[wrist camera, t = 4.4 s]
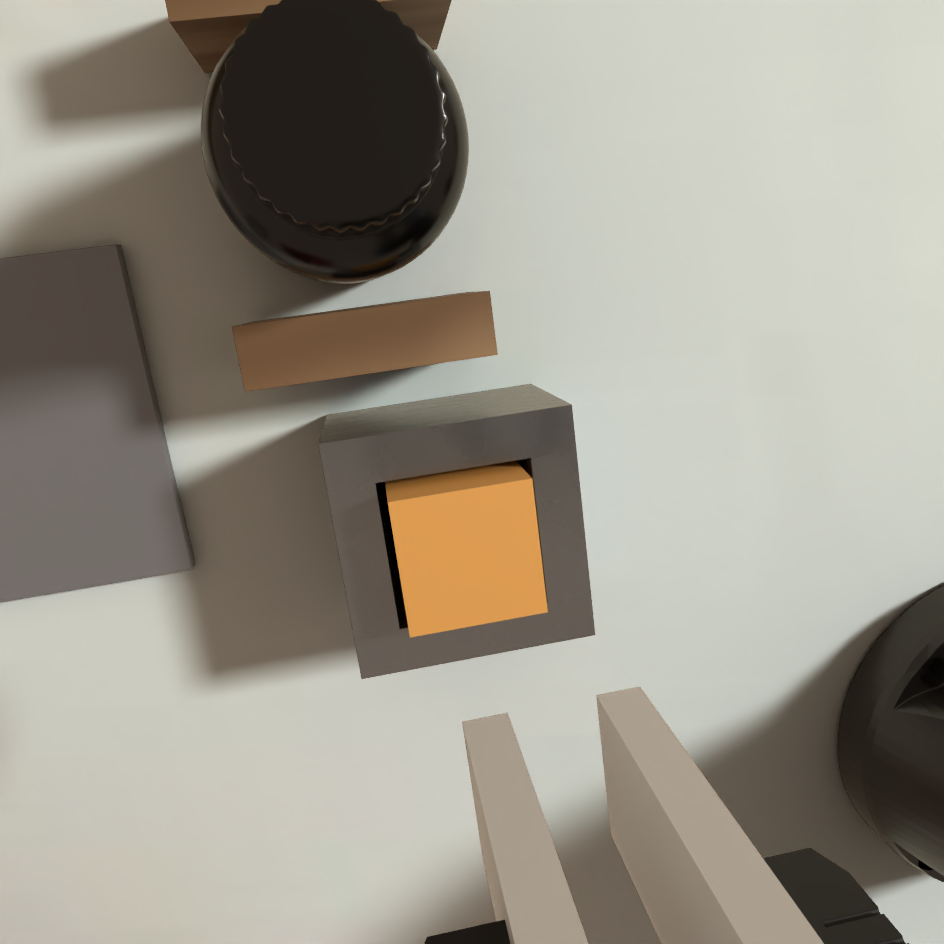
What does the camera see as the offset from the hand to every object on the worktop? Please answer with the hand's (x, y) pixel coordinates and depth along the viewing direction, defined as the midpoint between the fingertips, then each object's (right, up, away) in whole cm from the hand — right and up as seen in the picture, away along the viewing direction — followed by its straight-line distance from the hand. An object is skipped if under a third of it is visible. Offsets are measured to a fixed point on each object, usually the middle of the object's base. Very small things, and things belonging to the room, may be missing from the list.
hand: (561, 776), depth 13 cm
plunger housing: (-3, +4, +18) cm, 18 cm away
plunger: (-2, +4, +16) cm, 17 cm away
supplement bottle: (-6, +15, +15) cm, 22 cm away
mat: (-19, +6, +15) cm, 25 cm away
